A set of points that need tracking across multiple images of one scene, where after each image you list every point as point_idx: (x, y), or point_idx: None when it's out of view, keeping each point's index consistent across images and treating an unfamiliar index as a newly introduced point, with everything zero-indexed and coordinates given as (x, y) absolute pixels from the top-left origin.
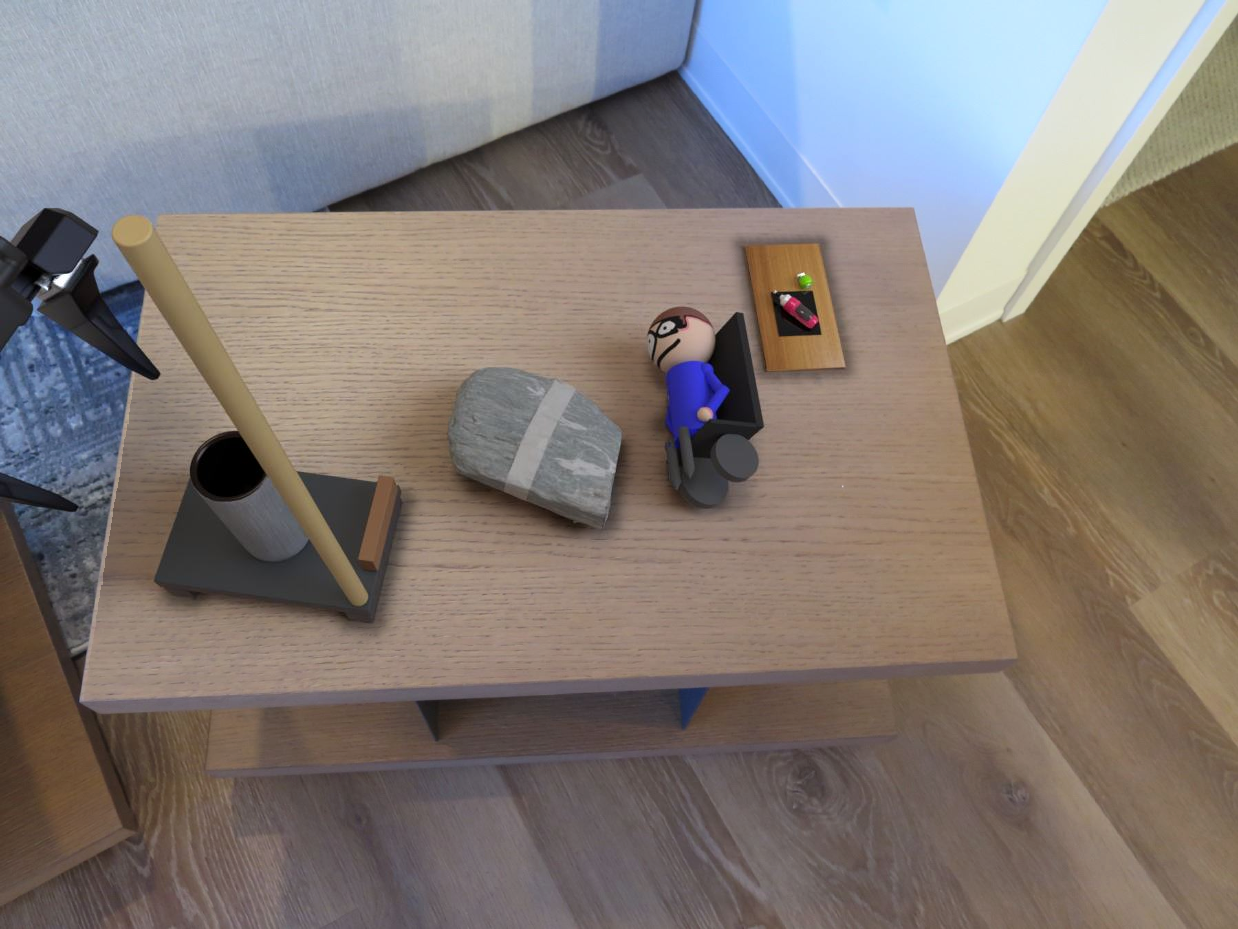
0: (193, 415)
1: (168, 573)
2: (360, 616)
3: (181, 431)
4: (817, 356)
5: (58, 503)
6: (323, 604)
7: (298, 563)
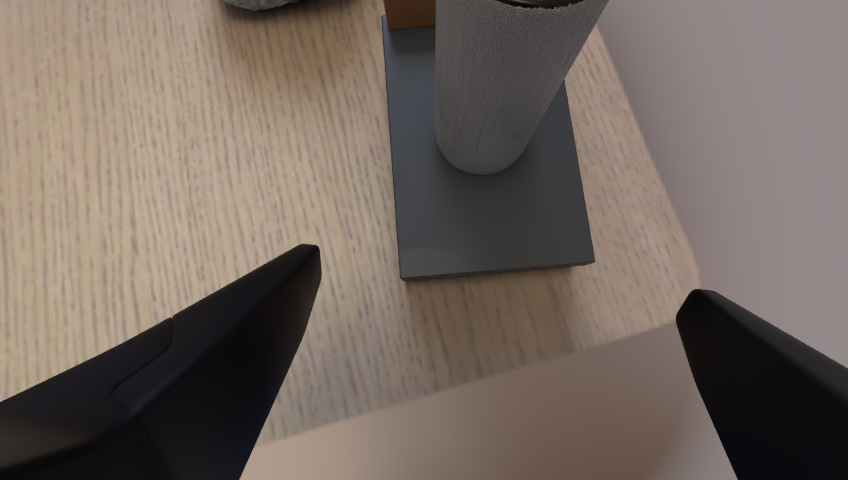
0: (324, 341)
1: (578, 246)
2: None
3: (351, 348)
4: None
5: (747, 314)
6: None
7: None
